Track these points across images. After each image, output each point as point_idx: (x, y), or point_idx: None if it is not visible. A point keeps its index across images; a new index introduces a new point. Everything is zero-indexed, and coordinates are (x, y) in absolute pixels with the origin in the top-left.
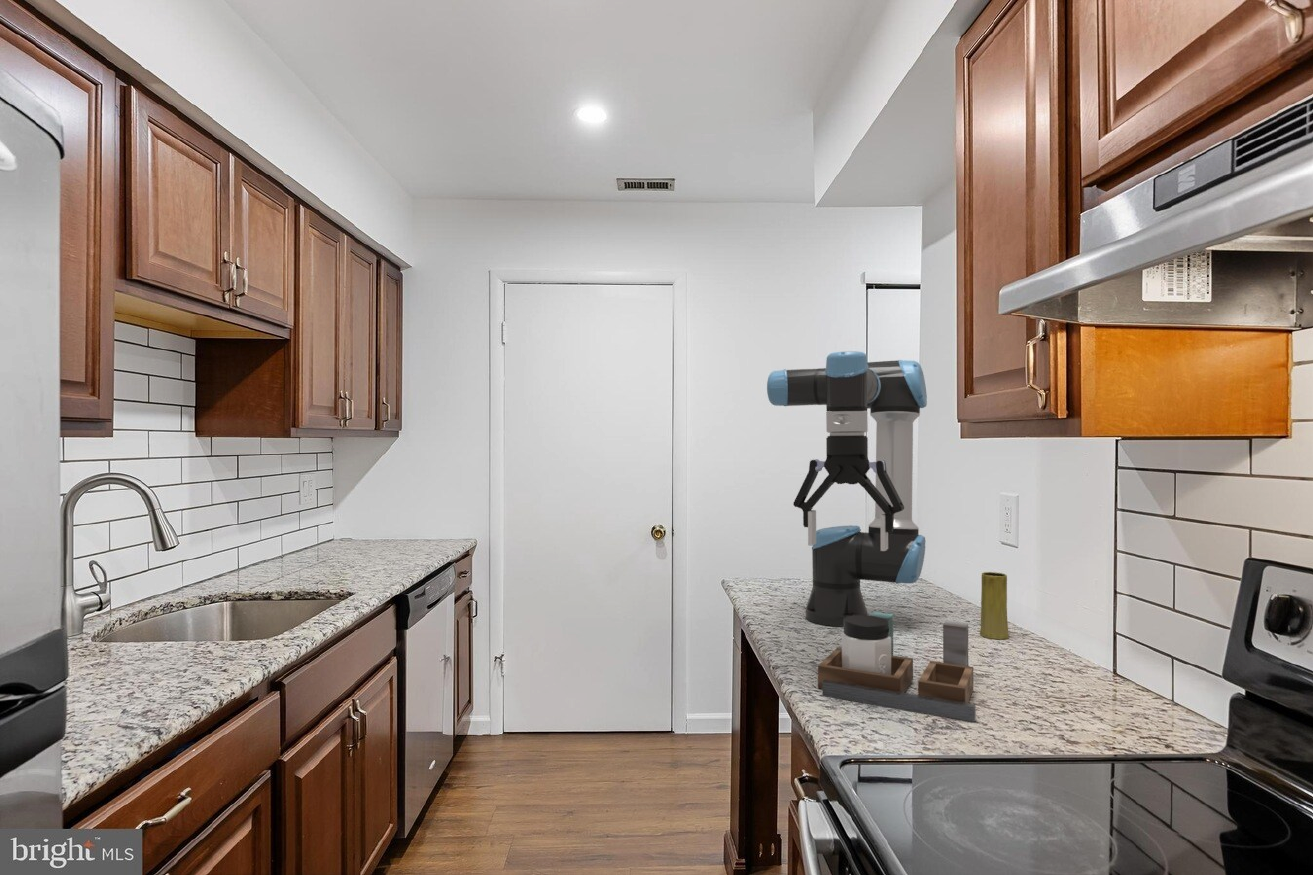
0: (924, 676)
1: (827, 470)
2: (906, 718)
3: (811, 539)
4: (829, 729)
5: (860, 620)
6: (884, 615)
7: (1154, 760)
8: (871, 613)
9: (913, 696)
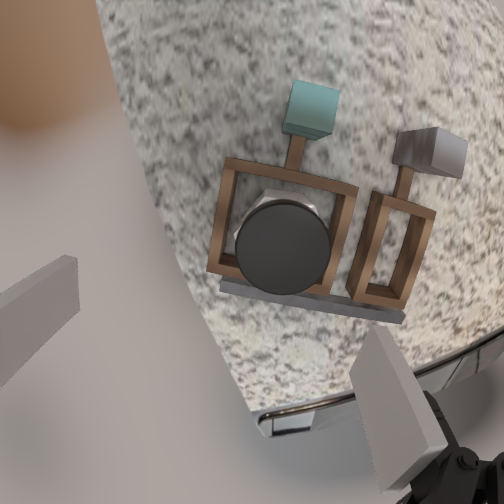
0: (364, 276)
1: None
2: (325, 327)
3: (65, 321)
4: (242, 372)
5: (271, 257)
6: (321, 106)
7: (488, 341)
8: (291, 94)
9: (340, 312)
